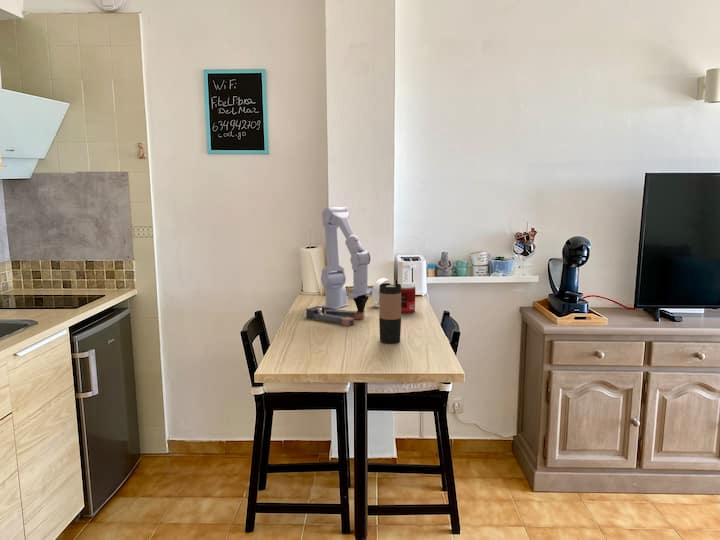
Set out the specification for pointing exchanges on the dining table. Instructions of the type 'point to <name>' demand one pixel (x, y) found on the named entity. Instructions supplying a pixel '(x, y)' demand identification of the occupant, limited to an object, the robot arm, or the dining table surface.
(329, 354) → the dining table surface
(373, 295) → the headphone stand
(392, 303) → the travel mug
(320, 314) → the tongs base
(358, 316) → the tong arm
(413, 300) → the canned food
